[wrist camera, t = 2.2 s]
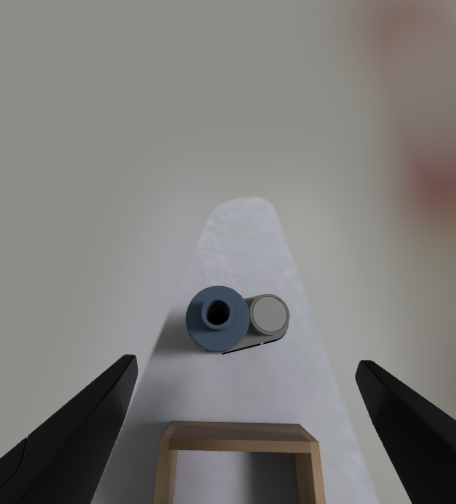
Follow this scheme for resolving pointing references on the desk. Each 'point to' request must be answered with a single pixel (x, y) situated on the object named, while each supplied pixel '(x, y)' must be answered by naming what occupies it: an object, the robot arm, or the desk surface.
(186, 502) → the desk surface
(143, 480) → the desk surface
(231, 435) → the box
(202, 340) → the vaping device
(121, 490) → the desk surface
